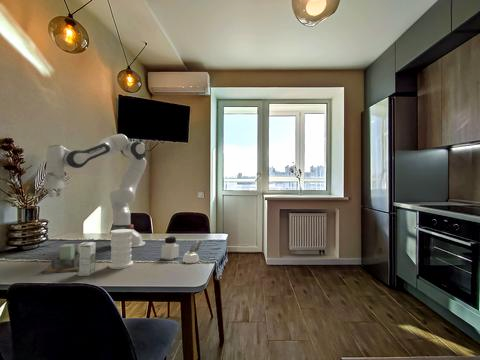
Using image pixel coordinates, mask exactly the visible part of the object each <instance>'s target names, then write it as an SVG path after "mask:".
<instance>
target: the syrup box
mask: <svg viewBox="0 0 480 360" xmlns="http://www.w3.org/2000/svg"><path fill="white" fill-rule="evenodd" d="M96 244H97V243H96V242H94V241H84V242H82V243H79V244H78V245H77V255H78V264H77V271H76V276H77V277H86V276H88V277H89V276H91V275H93V274H94V273H95V272H96V271H95V270H96V246H97V245H96Z"/></svg>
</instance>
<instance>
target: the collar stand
mask: <svg viewBox="0 0 480 360" xmlns="http://www.w3.org/2000/svg"><path fill="white" fill-rule="evenodd" d="M77 264H78V254H74V258H73V259H60V255H58V256H57V257H55V258H54V259H51V265H49V266H47V267H46V268H44V269H42V270H41V274H46V273H51V274H52V273H67V272H71V273H72V272H77Z"/></svg>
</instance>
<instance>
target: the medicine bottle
mask: <svg viewBox="0 0 480 360" xmlns="http://www.w3.org/2000/svg"><path fill="white" fill-rule="evenodd" d="M176 242H177V237H175V236H172V235H171V236H166V237H164V245H161V256H160V257H161V259H164V260H170V261H172V260H174V258H175V259H177V258H179V256H180V244H177V243H176Z"/></svg>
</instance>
